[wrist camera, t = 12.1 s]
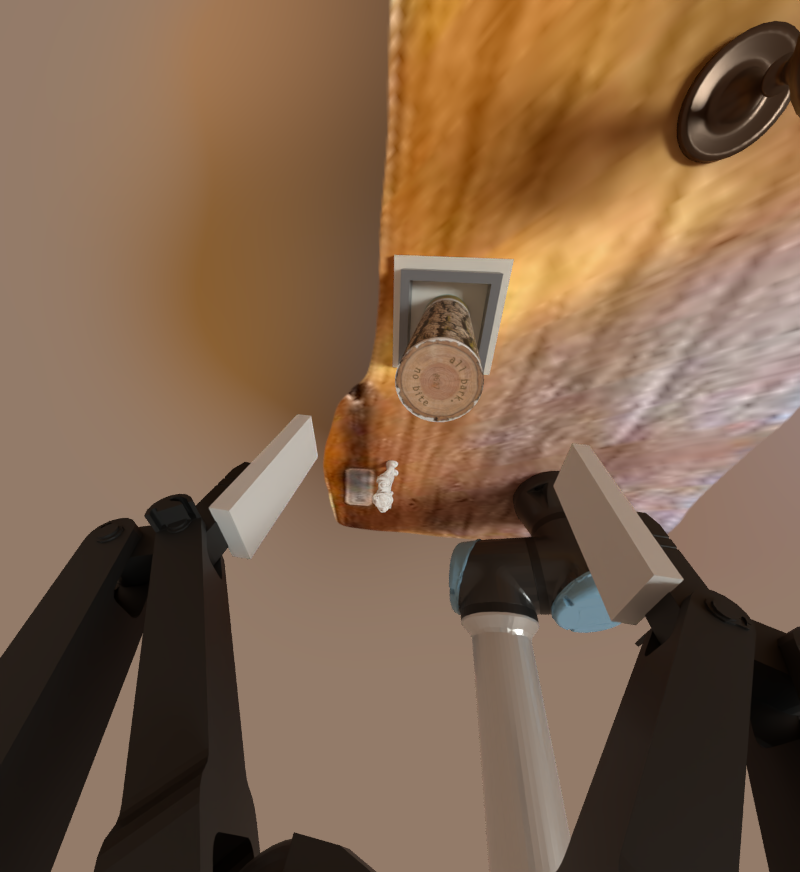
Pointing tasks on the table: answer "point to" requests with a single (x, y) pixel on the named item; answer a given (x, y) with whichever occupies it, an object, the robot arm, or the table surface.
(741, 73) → the candlestick
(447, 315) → the paper tube
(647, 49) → the table surface
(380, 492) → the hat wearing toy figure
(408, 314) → the collar stand
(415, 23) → the table surface
